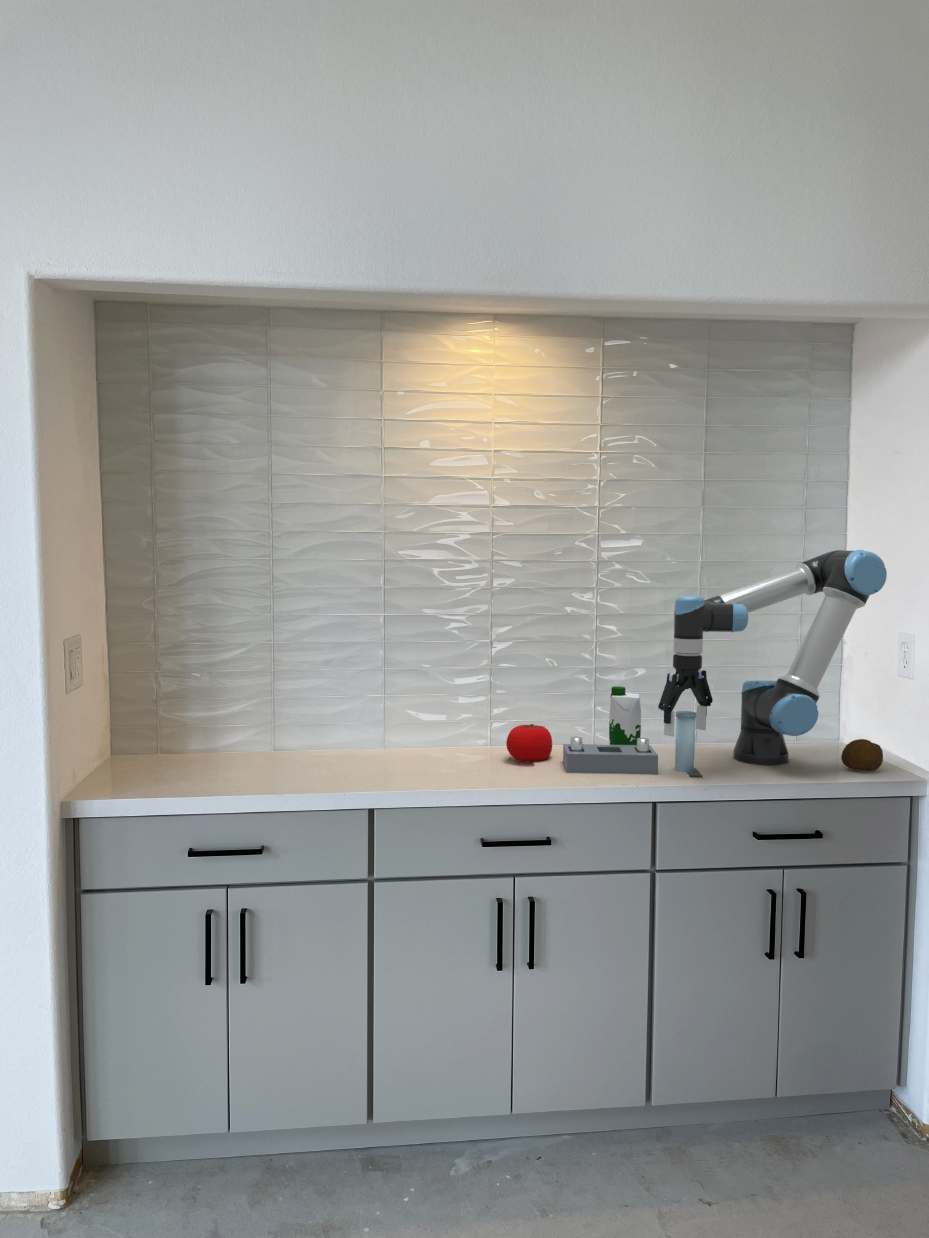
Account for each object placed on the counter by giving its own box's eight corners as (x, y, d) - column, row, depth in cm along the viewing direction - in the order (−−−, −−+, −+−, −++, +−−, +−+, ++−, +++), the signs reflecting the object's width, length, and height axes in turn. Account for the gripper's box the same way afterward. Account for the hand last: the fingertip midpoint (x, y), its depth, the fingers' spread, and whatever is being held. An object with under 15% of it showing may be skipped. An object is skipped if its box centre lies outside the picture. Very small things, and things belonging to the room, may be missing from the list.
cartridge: (698, 771, 242) (700, 713, 241) (686, 774, 239) (688, 715, 238) (682, 767, 246) (684, 710, 245) (669, 770, 243) (671, 712, 242)
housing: (649, 766, 250) (650, 745, 249) (657, 777, 238) (658, 755, 237) (562, 765, 250) (563, 743, 250) (566, 776, 238) (567, 753, 238)
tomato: (544, 768, 247) (545, 730, 246) (500, 764, 251) (500, 727, 250) (557, 757, 260) (558, 721, 259) (515, 753, 265) (516, 718, 264)
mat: (695, 770, 247) (695, 767, 247) (702, 777, 239) (702, 775, 239) (666, 769, 247) (666, 767, 247) (672, 777, 239) (672, 774, 239)
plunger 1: (581, 761, 246) (581, 736, 245) (582, 764, 243) (583, 739, 242) (569, 760, 246) (570, 736, 245) (570, 763, 243) (571, 738, 242)
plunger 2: (647, 762, 245) (648, 737, 245) (649, 765, 242) (650, 740, 242) (635, 762, 245) (636, 737, 245) (637, 765, 242) (638, 740, 242)
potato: (892, 774, 245) (894, 742, 244) (849, 774, 244) (851, 742, 243) (877, 766, 253) (878, 736, 252) (835, 766, 252) (837, 736, 252)
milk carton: (609, 751, 268) (610, 684, 266) (640, 753, 266) (641, 686, 265) (607, 758, 260) (609, 689, 258) (639, 759, 258) (641, 690, 256)
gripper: (704, 649, 251) (702, 724, 252) (646, 655, 235) (643, 735, 237) (727, 652, 245) (724, 729, 247) (669, 658, 229) (666, 740, 231)
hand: (685, 732), depth 242 cm, fingers open, 13 cm apart
